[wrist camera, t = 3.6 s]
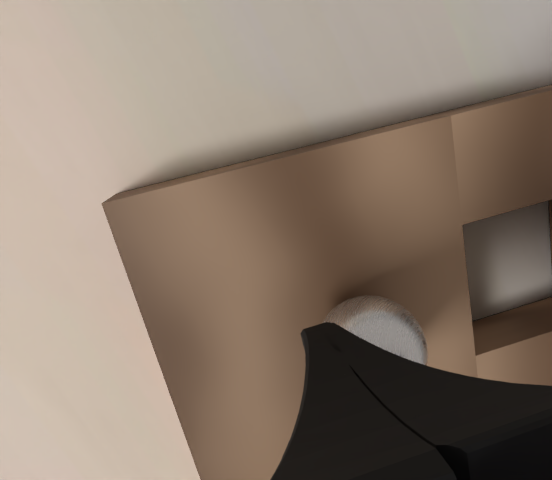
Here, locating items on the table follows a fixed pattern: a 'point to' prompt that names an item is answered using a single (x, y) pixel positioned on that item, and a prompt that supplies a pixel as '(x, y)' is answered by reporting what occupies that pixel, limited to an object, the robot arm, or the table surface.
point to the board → (329, 265)
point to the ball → (382, 325)
